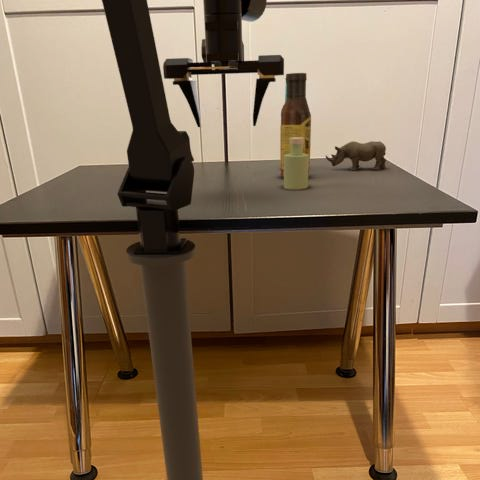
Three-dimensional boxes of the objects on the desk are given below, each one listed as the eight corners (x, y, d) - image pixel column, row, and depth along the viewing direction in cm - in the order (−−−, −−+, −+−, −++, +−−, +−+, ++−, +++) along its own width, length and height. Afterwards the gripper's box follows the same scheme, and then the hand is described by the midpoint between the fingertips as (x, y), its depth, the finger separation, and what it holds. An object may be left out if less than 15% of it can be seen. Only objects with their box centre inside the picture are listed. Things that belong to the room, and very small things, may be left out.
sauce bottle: (311, 179, 100) (315, 72, 91) (281, 180, 100) (282, 73, 91) (307, 174, 106) (310, 72, 97) (279, 174, 106) (279, 73, 97)
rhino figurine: (324, 168, 112) (325, 141, 110) (384, 167, 111) (387, 139, 108) (325, 171, 109) (326, 143, 106) (387, 170, 107) (390, 141, 105)
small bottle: (308, 189, 91) (310, 138, 87) (283, 189, 91) (284, 139, 87) (307, 184, 95) (308, 136, 91) (283, 185, 95) (284, 136, 91)
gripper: (284, 19, 79) (283, 121, 86) (173, 24, 81) (180, 124, 88) (284, 10, 69) (283, 126, 76) (157, 16, 71) (167, 129, 78)
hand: (226, 126), depth 80 cm, fingers open, 9 cm apart
